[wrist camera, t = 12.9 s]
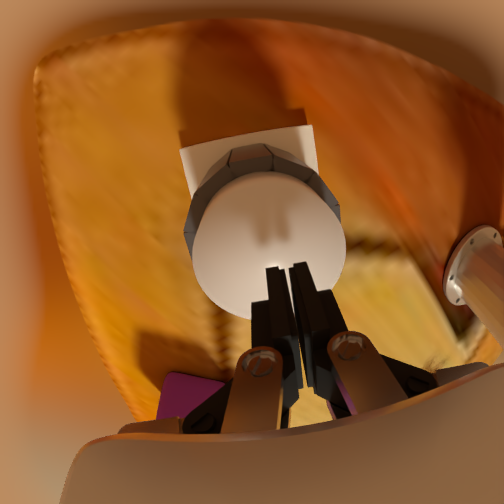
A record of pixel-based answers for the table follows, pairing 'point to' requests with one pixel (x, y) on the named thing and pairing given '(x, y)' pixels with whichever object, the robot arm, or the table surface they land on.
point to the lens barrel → (249, 166)
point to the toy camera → (184, 394)
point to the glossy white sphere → (264, 239)
